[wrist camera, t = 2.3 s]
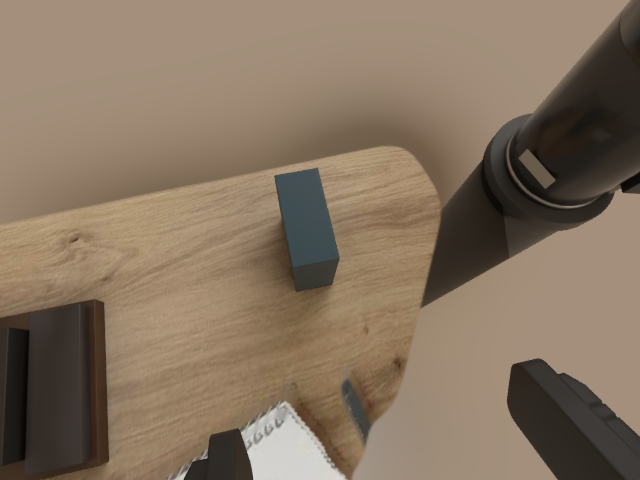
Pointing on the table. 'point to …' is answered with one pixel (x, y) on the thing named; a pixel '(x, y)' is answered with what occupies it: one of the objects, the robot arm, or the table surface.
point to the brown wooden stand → (53, 391)
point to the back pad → (307, 229)
